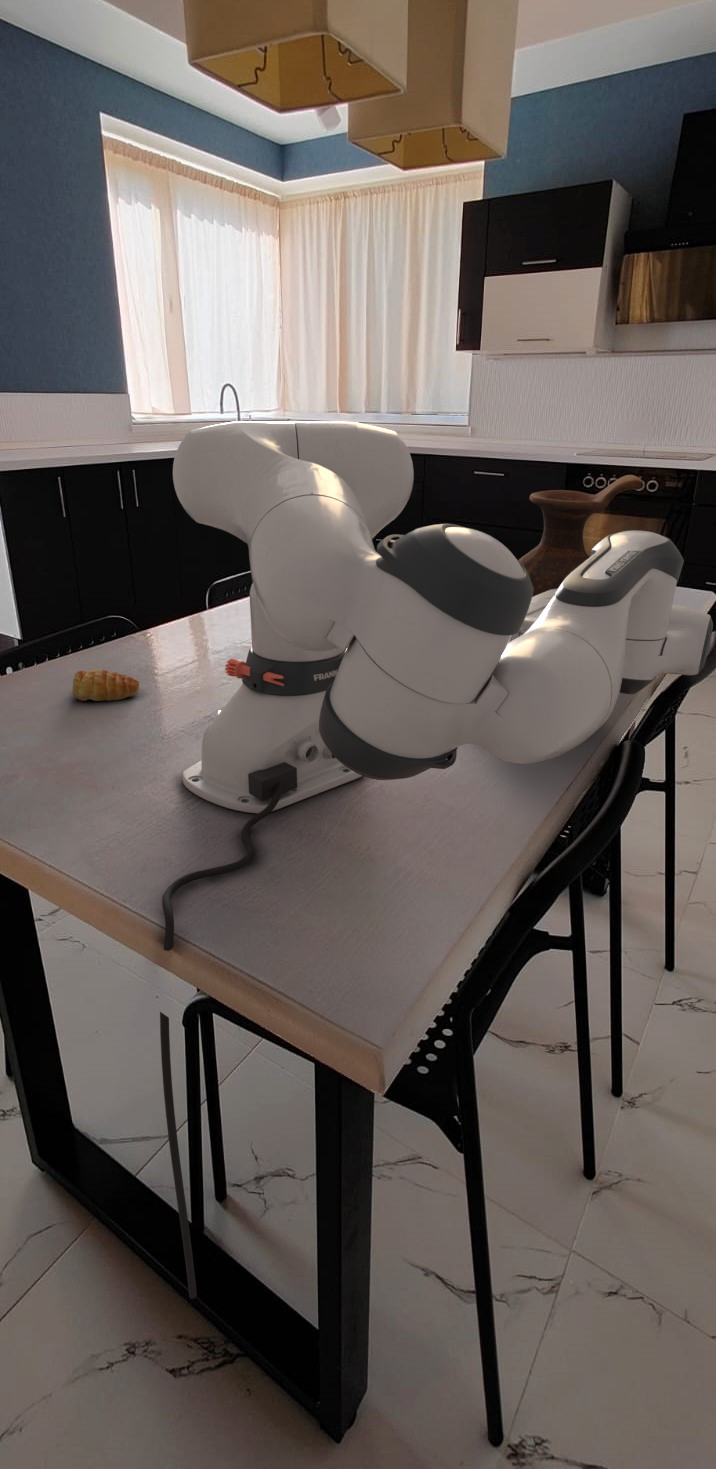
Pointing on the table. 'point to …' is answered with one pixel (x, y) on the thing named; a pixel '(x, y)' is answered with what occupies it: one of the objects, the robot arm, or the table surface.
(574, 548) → the jug
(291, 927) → the table surface
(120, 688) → the pastry
